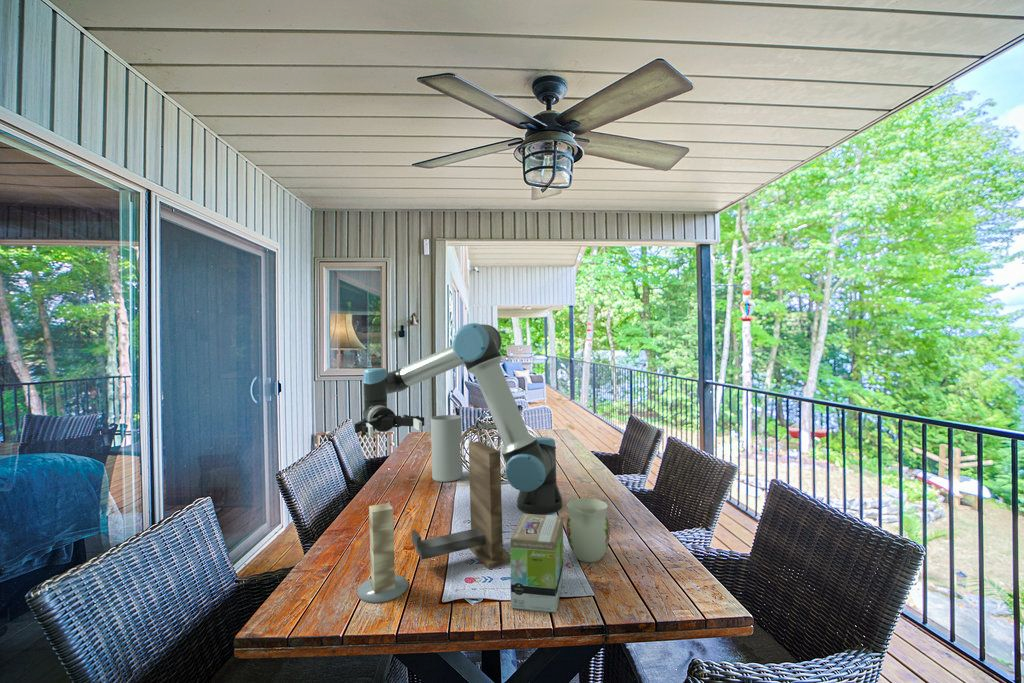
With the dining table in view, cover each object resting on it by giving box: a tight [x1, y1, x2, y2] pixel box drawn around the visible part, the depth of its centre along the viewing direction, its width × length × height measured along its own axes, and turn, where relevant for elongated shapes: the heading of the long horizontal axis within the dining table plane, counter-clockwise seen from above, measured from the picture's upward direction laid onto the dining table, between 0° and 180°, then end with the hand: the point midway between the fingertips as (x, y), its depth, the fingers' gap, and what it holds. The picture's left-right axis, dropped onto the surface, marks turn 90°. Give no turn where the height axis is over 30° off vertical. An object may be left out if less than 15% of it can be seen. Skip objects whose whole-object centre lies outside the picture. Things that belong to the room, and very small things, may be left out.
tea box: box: [509, 513, 564, 613], centre depth 102 cm, size 15×10×15 cm, turn 168°
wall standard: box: [411, 441, 511, 570], centre depth 118 cm, size 23×16×28 cm
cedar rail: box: [368, 502, 396, 594], centre depth 105 cm, size 4×4×18 cm
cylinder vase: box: [430, 414, 464, 483], centre depth 190 cm, size 12×12×25 cm
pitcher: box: [565, 497, 611, 563], centre depth 119 cm, size 11×18×14 cm, turn 174°
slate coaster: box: [357, 574, 409, 604], centre depth 105 cm, size 11×11×1 cm
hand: (396, 428), depth 129 cm, fingers open, 13 cm apart
